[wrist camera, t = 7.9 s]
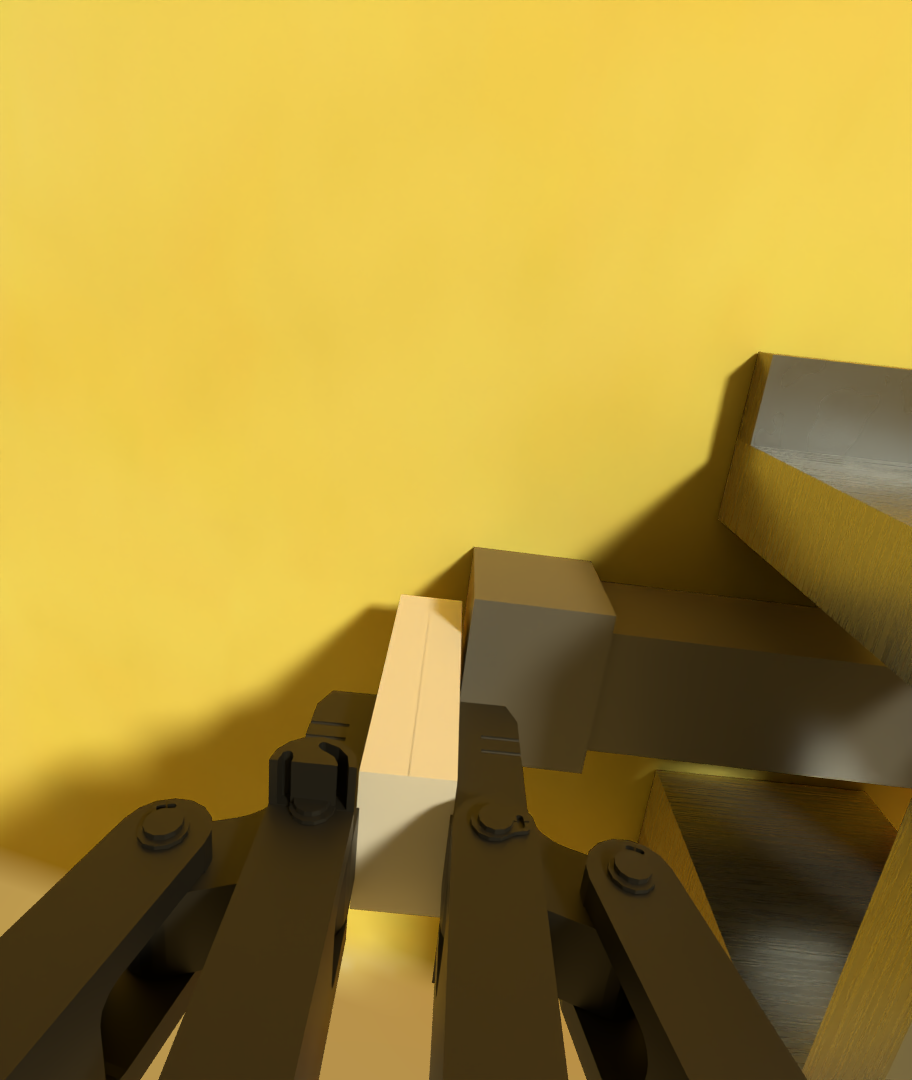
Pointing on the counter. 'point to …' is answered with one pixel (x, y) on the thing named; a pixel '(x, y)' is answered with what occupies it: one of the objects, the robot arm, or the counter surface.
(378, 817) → the robot arm
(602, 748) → the plug
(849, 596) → the housing
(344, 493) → the counter surface
